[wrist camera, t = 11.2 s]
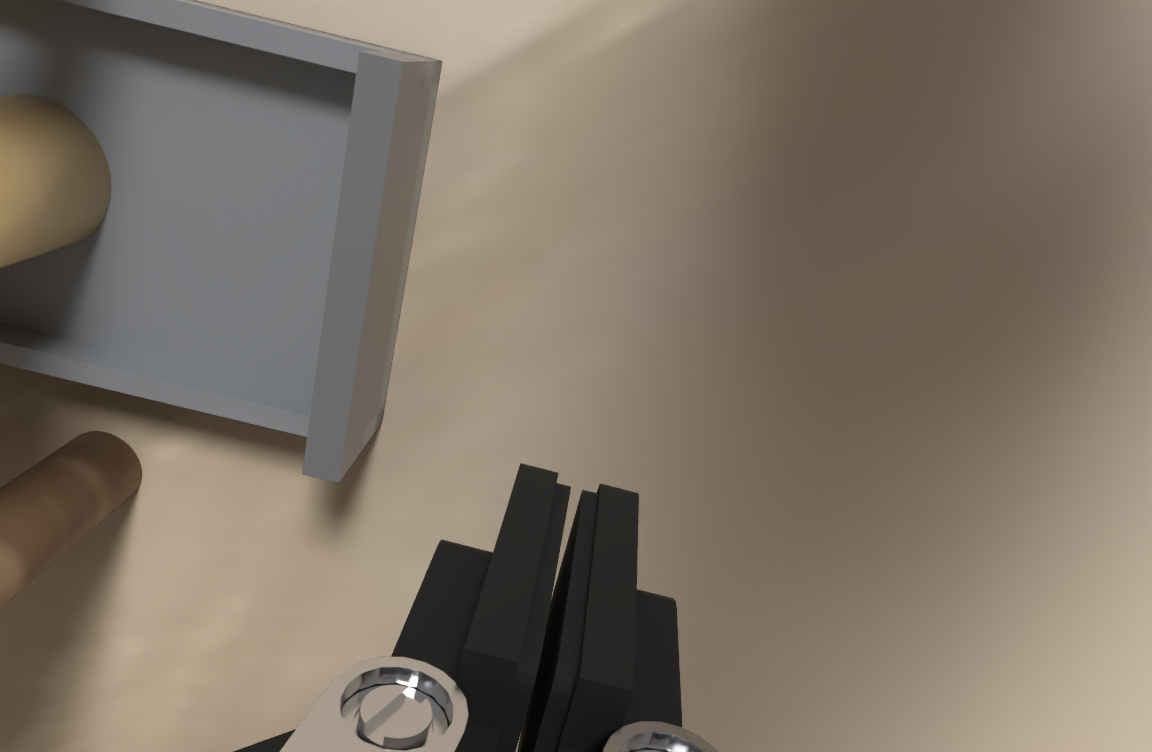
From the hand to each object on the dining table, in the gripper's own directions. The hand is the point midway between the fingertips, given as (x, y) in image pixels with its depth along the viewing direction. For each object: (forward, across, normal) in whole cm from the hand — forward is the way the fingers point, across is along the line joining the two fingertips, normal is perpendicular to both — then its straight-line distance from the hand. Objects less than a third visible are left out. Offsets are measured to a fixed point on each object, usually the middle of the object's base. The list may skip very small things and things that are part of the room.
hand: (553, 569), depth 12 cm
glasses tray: (+19, +18, +2) cm, 26 cm away
